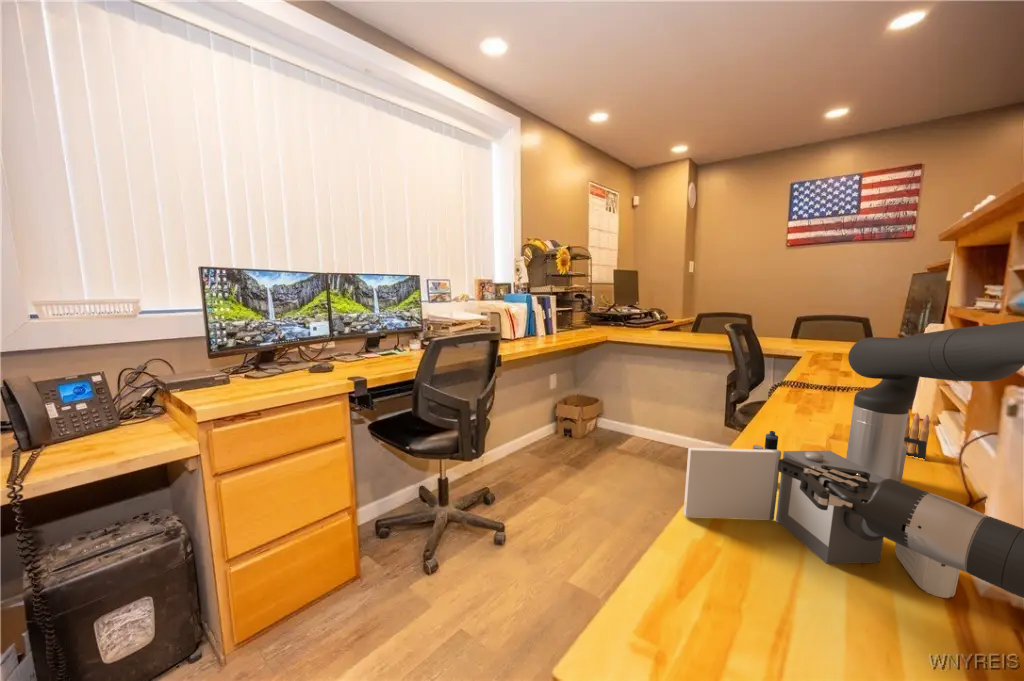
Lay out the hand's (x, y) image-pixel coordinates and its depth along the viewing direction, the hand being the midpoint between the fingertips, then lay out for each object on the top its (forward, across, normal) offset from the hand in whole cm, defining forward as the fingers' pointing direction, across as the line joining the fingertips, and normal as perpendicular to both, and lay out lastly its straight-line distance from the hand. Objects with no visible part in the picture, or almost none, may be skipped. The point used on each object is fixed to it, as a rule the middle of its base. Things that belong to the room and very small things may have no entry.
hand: (780, 463), depth 65 cm
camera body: (-3, -12, +16) cm, 20 cm away
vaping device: (+16, -23, +17) cm, 33 cm away
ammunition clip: (+9, -72, +18) cm, 74 cm away
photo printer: (-14, -16, +16) cm, 27 cm away
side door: (+10, -3, +16) cm, 19 cm away
